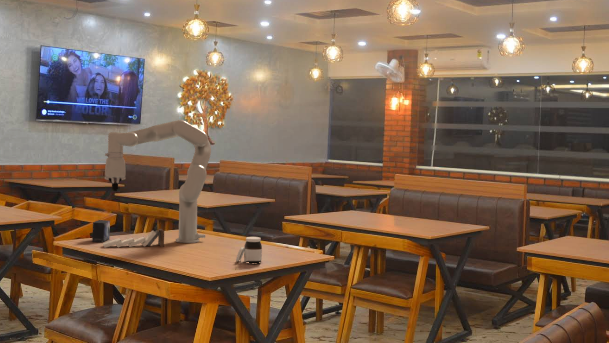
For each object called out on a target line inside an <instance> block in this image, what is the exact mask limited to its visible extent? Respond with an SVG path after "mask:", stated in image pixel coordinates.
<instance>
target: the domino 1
mask: <svg viewBox="0 0 609 343" xmlns="http://www.w3.org/2000/svg"><path fill="white" fill-rule="evenodd" d="M121 241H122V239H121V238H115V239H113V240H108V241H105V242H102V246H103V248H104V249H105V248H106V249H107V248H109V247H112V246H116V244H119V243H122V242H121Z"/></svg>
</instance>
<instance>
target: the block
mask: <svg viewBox="0 0 609 343" xmlns="http://www.w3.org/2000/svg"><path fill="white" fill-rule="evenodd" d="M157 231H159V232H160V235H159V236H158V237H157V240H158V241H157V243H158V244H157V245H158V246H159V247H160V248H164V247H165V230H163V229H162V228H158V229H157Z"/></svg>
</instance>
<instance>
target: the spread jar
mask: <svg viewBox="0 0 609 343" xmlns="http://www.w3.org/2000/svg"><path fill="white" fill-rule="evenodd" d="M261 240H262V239H261V237H258V236H247V237H246V238H245V243H244V247H242V246H241V247H240V249H239V250H238V253H237V256H236V258H235V261H236V262H238V261H239V260H240V261H241V260H242V258H243V261H244V263H245V262H249V263H259V262H261V263H262V260H263V258H262V256H263V254H262V253H263V248H262V247H263V246H262V243H261ZM240 261H239V262H240Z"/></svg>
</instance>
